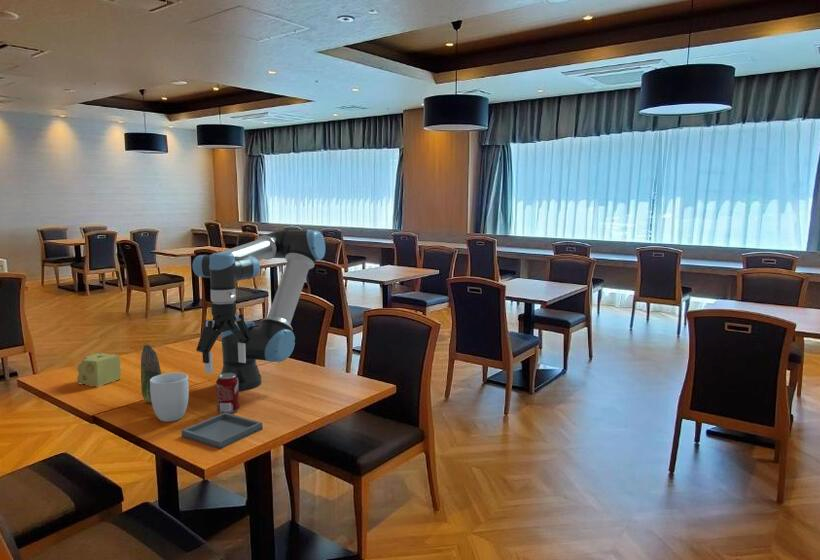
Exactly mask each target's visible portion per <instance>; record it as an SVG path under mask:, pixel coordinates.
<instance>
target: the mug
mask: <svg viewBox="0 0 820 560" xmlns="http://www.w3.org/2000/svg"><path fill="white" fill-rule="evenodd" d="M189 387H190V386H189V376H188V374H186V373H183V372H167V373H161V375H157V376H154V377H152V378H151V379H150V394H151V401H152V402H151V406H152V408H153V412H154V414H155V416H156V418H158V420H160V421H161V422H166V423H167V422H168V423H169V422H176V421H178V420H181V419H183V417H184V415H185V413H186V412H187V409H188V408H187V407H188V403H189V399H190V398H189V390H190V389H189Z"/></svg>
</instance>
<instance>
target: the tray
mask: <svg viewBox="0 0 820 560" xmlns="http://www.w3.org/2000/svg"><path fill="white" fill-rule="evenodd" d="M262 430H263V422H261V421H257V420H254V419H251V418H246V417H243V416H239V415H235V414H233V413H230V414H229V413H219V414H218V415H215V416H212V417H211V418H208V419H205V420H203V421H201V422H198V423H196V424H193V425H190V426H188V427H185V428H184V429H181V431H180V432H181V438H185V439H188V440H190V441H194V442H197V443H200V444H203V445H206V446H208V447H209V446H210V447H212V448H215V449H219V450H222V449H223V448H226V447H228V446H230V445H232V444H234V443H237V442H239V441H240V440H242V439H245V438H247V437H249V436H250V435H253V434H255V433H257V432H259V431H262Z"/></svg>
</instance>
